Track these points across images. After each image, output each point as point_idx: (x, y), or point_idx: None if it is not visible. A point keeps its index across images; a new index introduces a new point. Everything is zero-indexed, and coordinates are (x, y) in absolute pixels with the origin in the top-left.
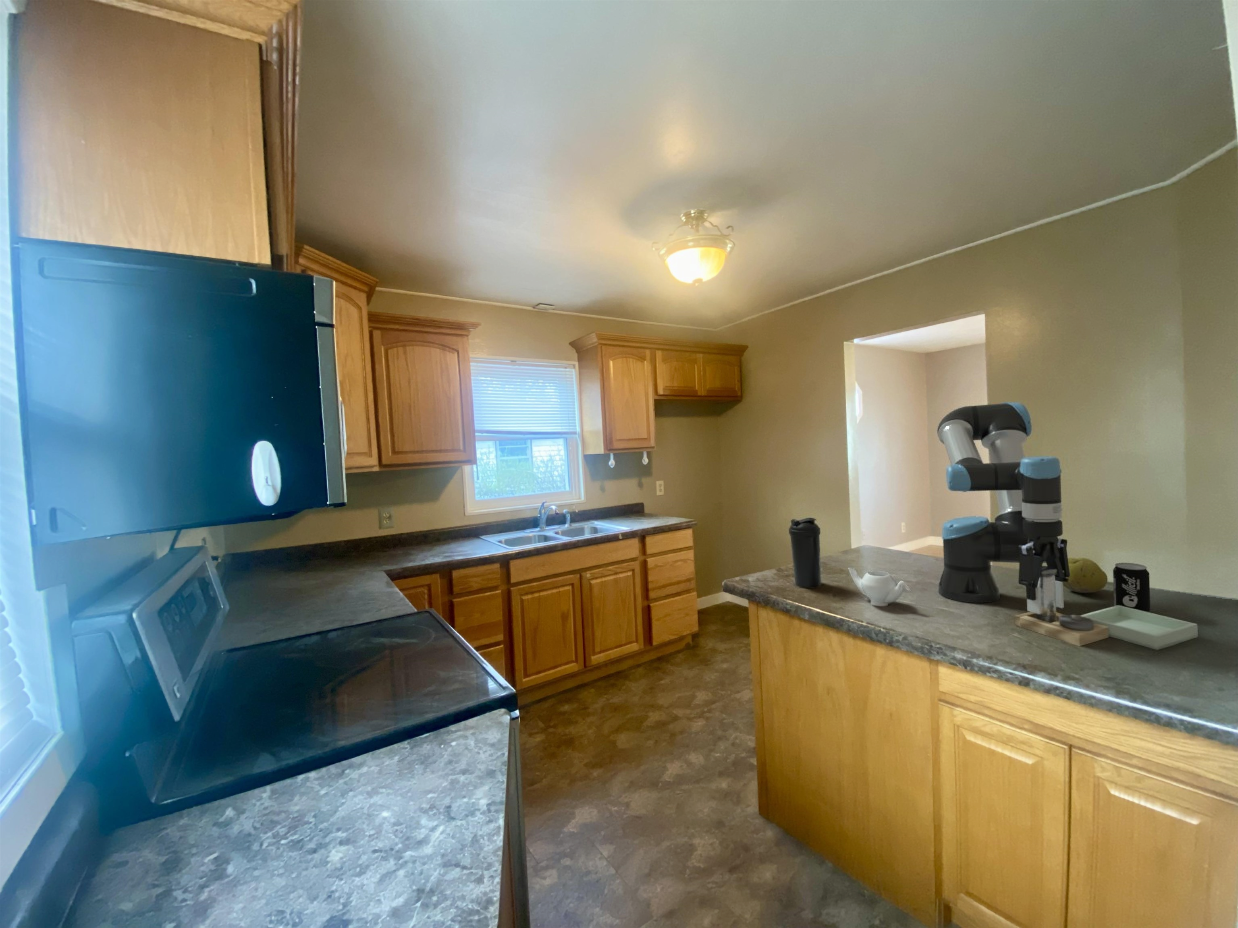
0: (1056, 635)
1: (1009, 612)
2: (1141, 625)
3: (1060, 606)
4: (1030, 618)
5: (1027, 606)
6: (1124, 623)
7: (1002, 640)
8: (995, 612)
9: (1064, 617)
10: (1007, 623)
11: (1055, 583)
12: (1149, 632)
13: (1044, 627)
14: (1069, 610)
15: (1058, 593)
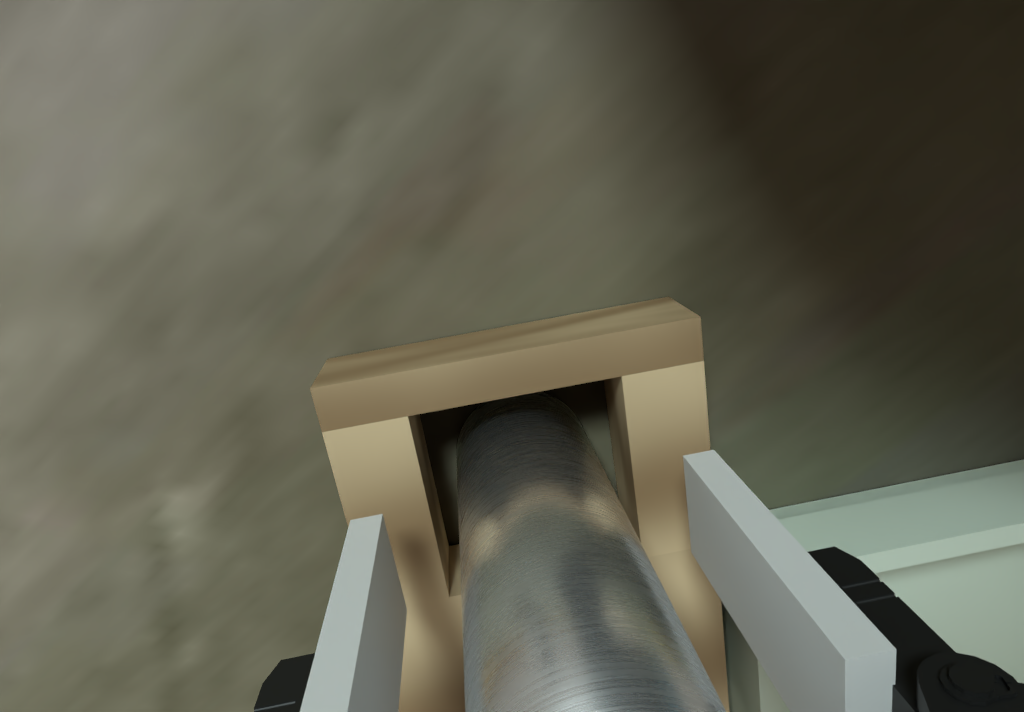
0: None
1: (537, 83)
2: (1020, 625)
3: (695, 551)
4: (387, 479)
5: (344, 547)
6: (980, 578)
7: (5, 565)
8: (415, 29)
9: None
10: (300, 305)
11: (827, 710)
12: None
13: None
14: (1003, 231)
15: (754, 636)
